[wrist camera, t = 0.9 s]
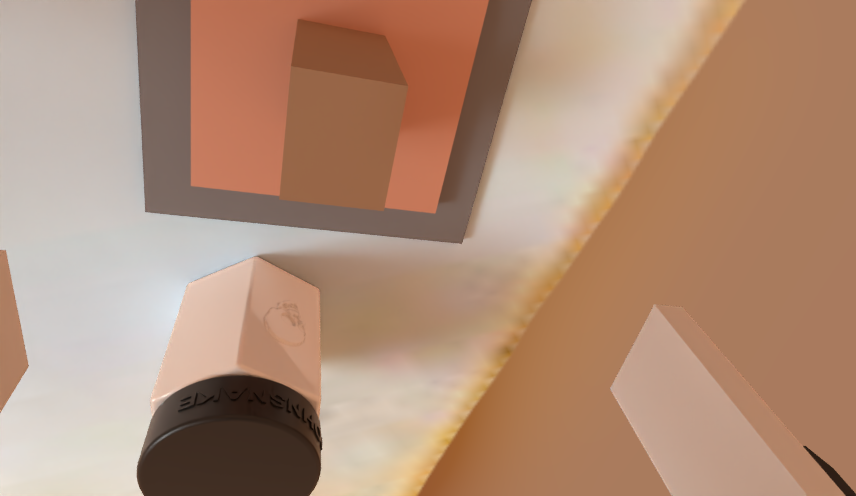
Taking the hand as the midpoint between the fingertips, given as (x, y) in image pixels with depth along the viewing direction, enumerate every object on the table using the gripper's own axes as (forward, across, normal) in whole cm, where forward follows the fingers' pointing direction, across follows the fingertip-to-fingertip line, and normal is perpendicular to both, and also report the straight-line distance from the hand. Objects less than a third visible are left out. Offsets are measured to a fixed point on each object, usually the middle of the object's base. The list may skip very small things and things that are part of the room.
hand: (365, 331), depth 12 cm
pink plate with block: (+19, 0, 0) cm, 19 cm away
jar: (+20, -3, -16) cm, 26 cm away
